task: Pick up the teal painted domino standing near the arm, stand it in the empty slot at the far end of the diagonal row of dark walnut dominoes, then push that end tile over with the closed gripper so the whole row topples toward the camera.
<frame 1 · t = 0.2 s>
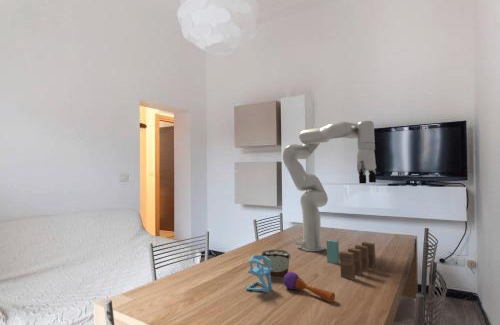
hand: (367, 182, 140), 37 cm above the table, tool pointing down, fingers open, 9 cm apart
domino 3: (362, 269, 127), on the table
purple and orange maraca: (307, 294, 103), on the table
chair: (260, 289, 108), on the table
teal domino: (333, 262, 137), on the table
domino 2: (355, 273, 122), on the table
domino 1: (347, 277, 118), on the table
food container: (277, 275, 122), on the table
domino 4: (369, 265, 131), on the table
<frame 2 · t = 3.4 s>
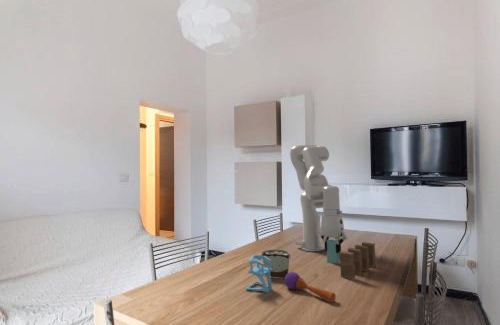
hand: (332, 250, 138), 5 cm above the table, tool pointing down, fingers closed on teal domino, 4 cm apart
teal domino: (333, 262, 137), on the table, touching gripper
everything else where it was.
when the fingers open (6 cm above the table, at t = 8.1 s): teal domino stays where it is, on the table.
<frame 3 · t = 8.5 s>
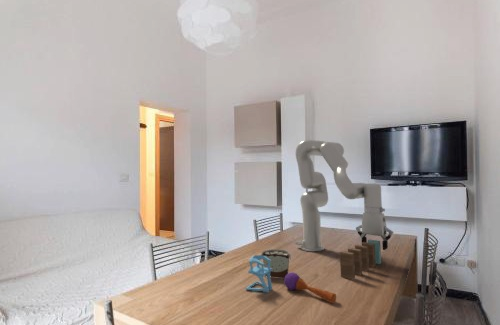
hand: (374, 247, 136), 7 cm above the table, tool pointing down, fingers open, 9 cm apart
teal domino: (374, 262, 136), on the table
everything else where it was.
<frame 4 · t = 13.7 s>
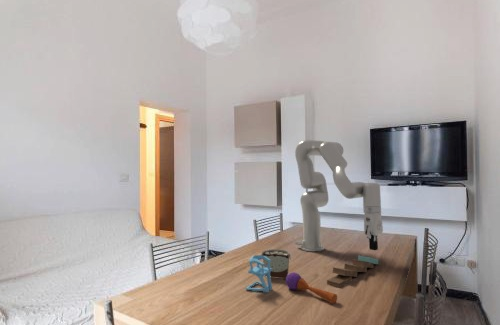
hand: (373, 249, 135), 6 cm above the table, tool pointing down, fingers closed
domino 3: (361, 268, 125), point 1 cm above the table, tilted 74°, touching domino 2
teal domino: (372, 261, 134), point 1 cm above the table, tilted 71°, touching domino 4
domino 2: (351, 272, 120), point 1 cm above the table, tilted 74°, touching domino 1, domino 3
domino 1: (346, 277, 117), on the table, tilted 90°, touching domino 2
domino 4: (367, 264, 130), point 1 cm above the table, tilted 73°, touching teal domino
everything else where it was.
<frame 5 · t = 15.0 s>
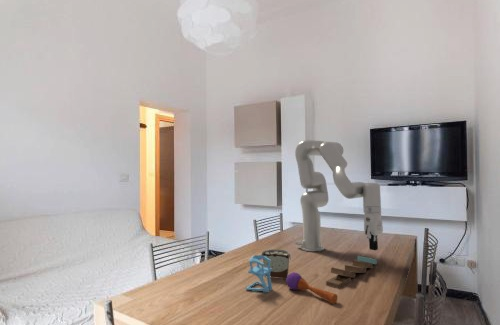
hand: (373, 249, 135), 6 cm above the table, tool pointing down, fingers closed
domino 3: (360, 269, 124), point 1 cm above the table, tilted 75°, touching domino 2, domino 4
teal domino: (371, 261, 135), point 1 cm above the table, tilted 72°
domino 2: (349, 273, 119), point 1 cm above the table, tilted 71°, touching domino 1, domino 3
domino 4: (366, 264, 130), point 1 cm above the table, tilted 74°, touching domino 3
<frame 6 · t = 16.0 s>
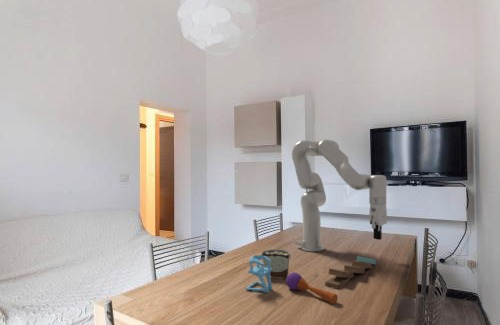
hand: (377, 238, 141), 10 cm above the table, tool pointing down, fingers closed
domino 3: (359, 269, 124), point 1 cm above the table, tilted 73°, touching domino 2
teal domino: (370, 261, 134), point 1 cm above the table, tilted 72°, touching domino 4
domino 2: (347, 273, 118), point 1 cm above the table, tilted 74°, touching domino 3
domino 1: (343, 278, 116), on the table, tilted 90°
domino 4: (366, 265, 129), point 1 cm above the table, tilted 75°, touching teal domino
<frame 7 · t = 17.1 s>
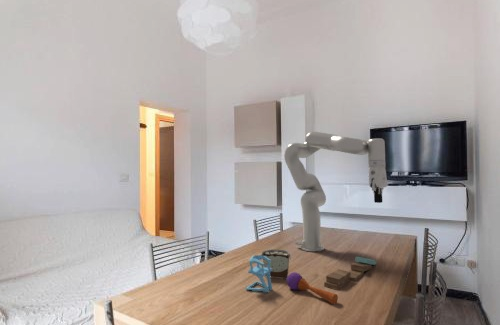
hand: (378, 202, 141), 27 cm above the table, tool pointing down, fingers closed
domino 3: (357, 272, 123), on the table, tilted 90°, touching domino 4
domino 2: (344, 273, 116), point 2 cm above the table, tilted 90°, touching domino 1
domino 1: (342, 279, 115), on the table, tilted 90°, touching domino 2
domino 4: (365, 265, 129), point 1 cm above the table, tilted 81°, touching domino 3, teal domino
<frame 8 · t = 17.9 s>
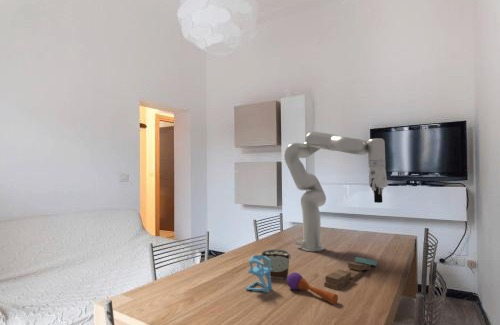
hand: (378, 202, 141), 27 cm above the table, tool pointing down, fingers closed
domino 3: (356, 271, 123), on the table, tilted 90°
teal domino: (370, 262, 133), point 1 cm above the table, tilted 72°, touching domino 4
domino 4: (364, 265, 128), point 1 cm above the table, tilted 79°, touching teal domino
at the end: domino 1 tilted 90°; teal domino tilted 72° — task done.
